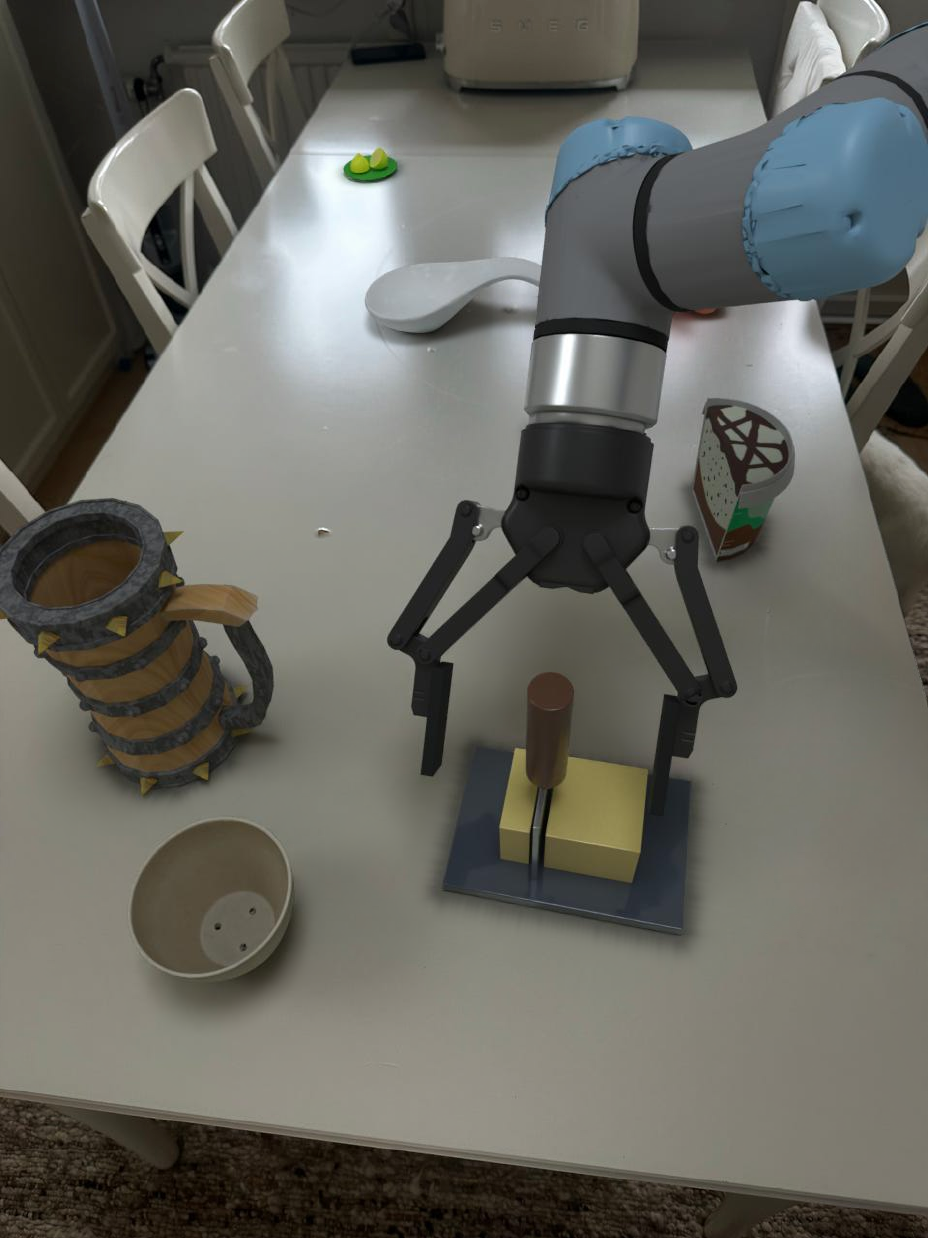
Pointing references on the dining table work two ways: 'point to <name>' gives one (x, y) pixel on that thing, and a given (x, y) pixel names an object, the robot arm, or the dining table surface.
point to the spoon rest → (439, 290)
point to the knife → (547, 745)
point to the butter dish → (563, 887)
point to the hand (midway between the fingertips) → (540, 789)
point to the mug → (134, 638)
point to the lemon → (370, 166)
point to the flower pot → (212, 900)
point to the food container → (739, 472)
